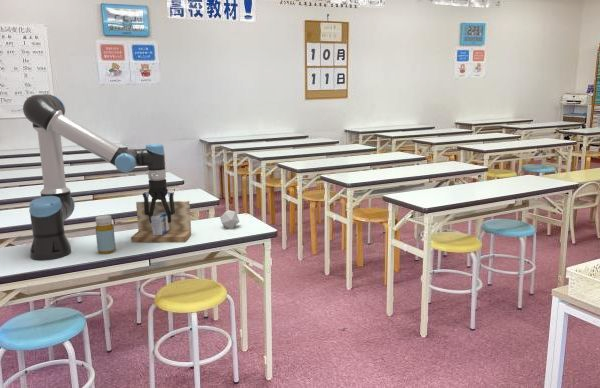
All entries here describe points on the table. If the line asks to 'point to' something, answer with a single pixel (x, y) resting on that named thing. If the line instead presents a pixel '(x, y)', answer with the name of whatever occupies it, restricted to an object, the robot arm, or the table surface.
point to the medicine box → (159, 224)
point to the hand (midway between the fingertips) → (161, 229)
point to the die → (229, 219)
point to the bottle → (105, 234)
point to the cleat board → (178, 224)
